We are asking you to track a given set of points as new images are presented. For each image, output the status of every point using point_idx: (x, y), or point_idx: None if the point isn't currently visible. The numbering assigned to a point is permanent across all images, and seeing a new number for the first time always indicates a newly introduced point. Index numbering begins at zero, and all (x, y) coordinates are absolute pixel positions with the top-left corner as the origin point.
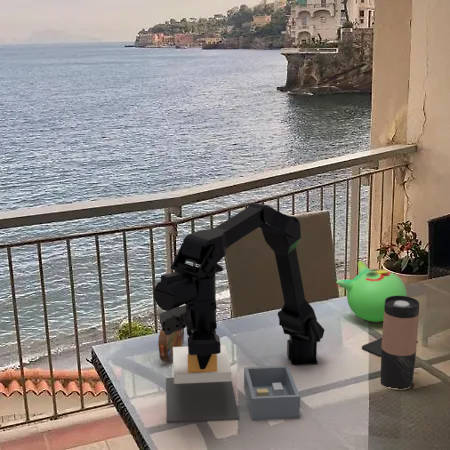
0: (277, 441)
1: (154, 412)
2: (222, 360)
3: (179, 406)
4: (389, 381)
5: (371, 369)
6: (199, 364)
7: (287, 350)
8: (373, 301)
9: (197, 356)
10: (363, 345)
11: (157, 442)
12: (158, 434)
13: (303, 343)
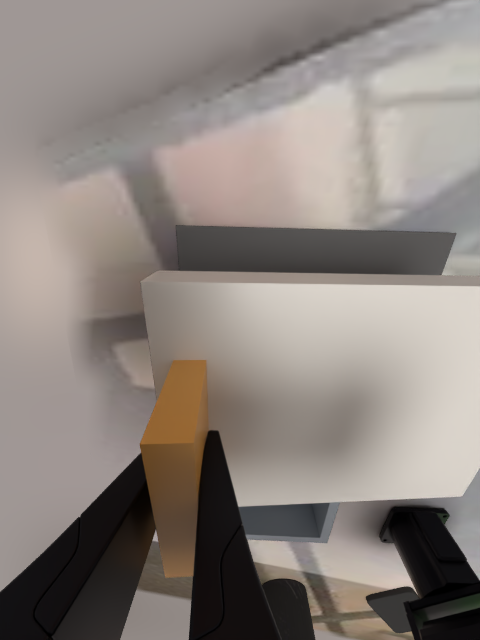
0: (113, 441)
1: (242, 185)
2: (301, 487)
3: (257, 268)
4: (269, 600)
5: (333, 580)
6: (139, 455)
7: (438, 528)
8: None
9: (69, 526)
10: (413, 594)
11: (74, 192)
12: (116, 196)
13: (420, 584)
